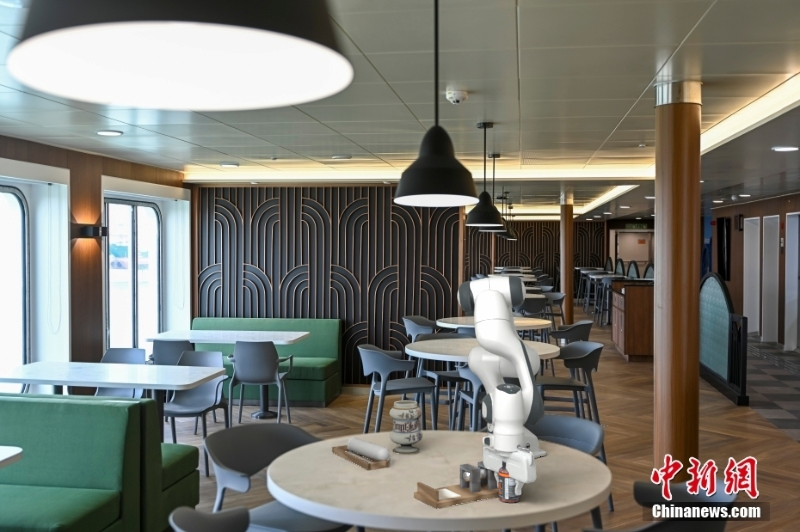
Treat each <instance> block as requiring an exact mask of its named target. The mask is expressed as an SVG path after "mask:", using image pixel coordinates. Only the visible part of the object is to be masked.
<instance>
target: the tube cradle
mask: <svg viewBox="0 0 800 532" xmlns="http://www.w3.org/2000/svg"><path fill="white" fill-rule="evenodd" d="M345 451H347V452H345ZM332 452H333V453H332ZM349 452H350V451H349V450H348V449H347V444H346V445H345V444H344V445H338V446H337V445H336V446H331V453H332V454H334V453H335V454H334V455H336V454H337V455H336V456H338V455H339V456H338V457H340V456H341V457H340V458H342V457H343V459H344V458H345V459H344V460H346V459H347V460H346V461H348V460H349V461H348V462H350V461H351V462H350V463H352V462H353V463H352V464H354V463H355V464H354V465H356V464H357V465H356V466H358V465H359V466H358V467H360V466H361V467H360V468H362V469H364V470H366V471H372V470H378V469H379V470H380V469H385V468H386V469H387V468H389V467H390V460H389V459H388V460H385V461H378V460H375V459H372V458H369V457H367V456H364V455H362V456H364V457H366V458H365V459H367V458H368V459H367V460H369V459H370V460H369V461H371V460H372V461H371V462H368V461H366V460H364V459H361V457H362V456H361V457H360V458H359V457H358V456H356V455H353V454H351V453H349ZM354 454H356V452H355V453H354ZM360 455H361V454H360ZM360 455H359V456H360ZM364 457H363V458H364Z"/></svg>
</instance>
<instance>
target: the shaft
mask: <svg viewBox="0 0 800 532" xmlns="http://www.w3.org/2000/svg"><path fill="white" fill-rule="evenodd" d="M463 478H464V480H465V481H466V482H467V481H470V472H468V471H466V472H464V473H463ZM484 478H488V469H486V468H484V469H480V479H484Z"/></svg>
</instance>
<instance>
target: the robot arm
mask: <svg viewBox="0 0 800 532" xmlns="http://www.w3.org/2000/svg"><path fill="white" fill-rule="evenodd" d="M526 291H527V290H526V286H525V283H524V282H523V281H522V278H521V277H519V276H518V275H508V276H504V275H503V276H489V277H485V278H480V279H474V280H467V281H464V282H462V283H461V284H460V285H459V287H458V291H457V294H456V295H457V297H456V298H457V302H458V304H459V307H460V308H461V310H462V311H464V312H465V313H469V314H473V316H474V317H473V319H474V320H473V321H474V332H475V337H476V341H477V343H478V346H474V347H472V348H471V350H470V351H469V354H468V356H467V366H468V368H469V370H470V371H471V373H473V374H474V375H475V376H476V377H477V378H478V379H479V380H480V382H481V383H482V385H483V388H484V389H485V392H486V395H484V397H483V398H482V400H481V417H482V419H483V420H484V421H485V422H486V430H487V433H486V434H487V435H486V436H482V444H483V447H482V461H483V464H484V466H485V468H487V469H489V470H492V471H494V475H495V478H496V480H497V487H498V488H499V469H500V468H501V467H502V461H505V462H506V469H507V471H508V472H509V477H510V478H513V479H515V483H517V484H516V487H515V488H513V494H515V495H520V496H521V495H522V493H521V488H522V489H523V487H524V485H525V484H531V483H534V482H536V480H537V467H536V461H535V459H536V458H540V456H541V457H543V456H547V453H546V451H545V450H544V449H541V448H540V442H539V439H538V436H536V435H535V434H534V433H533V432H532V431H530V430H529V429H528V428H526V427H525V426H531V427H532V426H533V427H535V426H536V425H538V424H539V423H540V422H541V421H542V420H543V418H544V416H545V413H546V411H545V410H546V409H545V405H544V400H543V398H542V395H541V393H540V390H539V388H538V384H537V382H536V378H535V375H536V374H537V373H538V371H539V370H540V367H541V359H540V358H541V357H540V355H539V353H538V352H537V350H536V349H534V348H533V347H531V346H529V345H528V344H527V343H526V342H525V341H524V340H523V339H522V338H521V337H520V336H519V334H518V332H517V330H516V326H515V325H516V324H515V321H514V314H513V309H514V308H518V307H521V306H522V305H523V304H524V303H525V298H526V295H527V292H526ZM512 308H513V309H512ZM504 378H515V379H516V378H518V381H519V384H520V386H518V385H516V384H513V383H506V382H505V380H504Z"/></svg>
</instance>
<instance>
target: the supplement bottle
mask: <svg viewBox="0 0 800 532" xmlns="http://www.w3.org/2000/svg"><path fill="white" fill-rule="evenodd" d="M516 484H517V483H515V479H513V478H510V477H509V472H508V471H507V469H506V462H505V461H502V467H501V468H500V469H499V497H498V500H499V501H500V502H502V501H503V502H502V503H505V502H508V504H515V502H516V503H518V502H519V501H520V500H521V499H520V498H521V497H520V496H521V495H515V494H513V488H515V487H516Z"/></svg>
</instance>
